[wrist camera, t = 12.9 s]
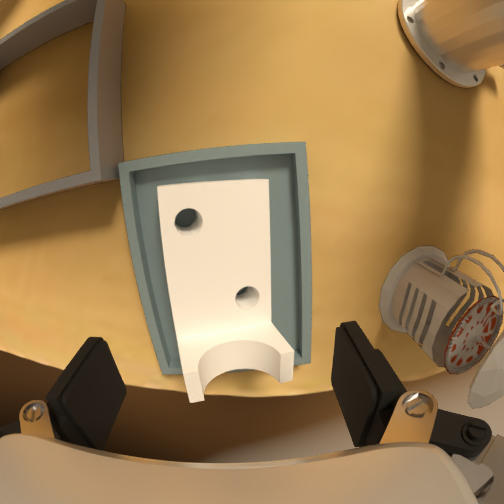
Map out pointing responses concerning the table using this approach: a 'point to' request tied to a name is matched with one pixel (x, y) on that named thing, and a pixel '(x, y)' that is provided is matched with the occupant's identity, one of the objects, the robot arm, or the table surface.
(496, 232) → the table surface
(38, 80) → the table surface
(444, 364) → the french press
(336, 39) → the table surface
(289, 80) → the table surface
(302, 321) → the tray
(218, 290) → the bracket
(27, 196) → the bin
